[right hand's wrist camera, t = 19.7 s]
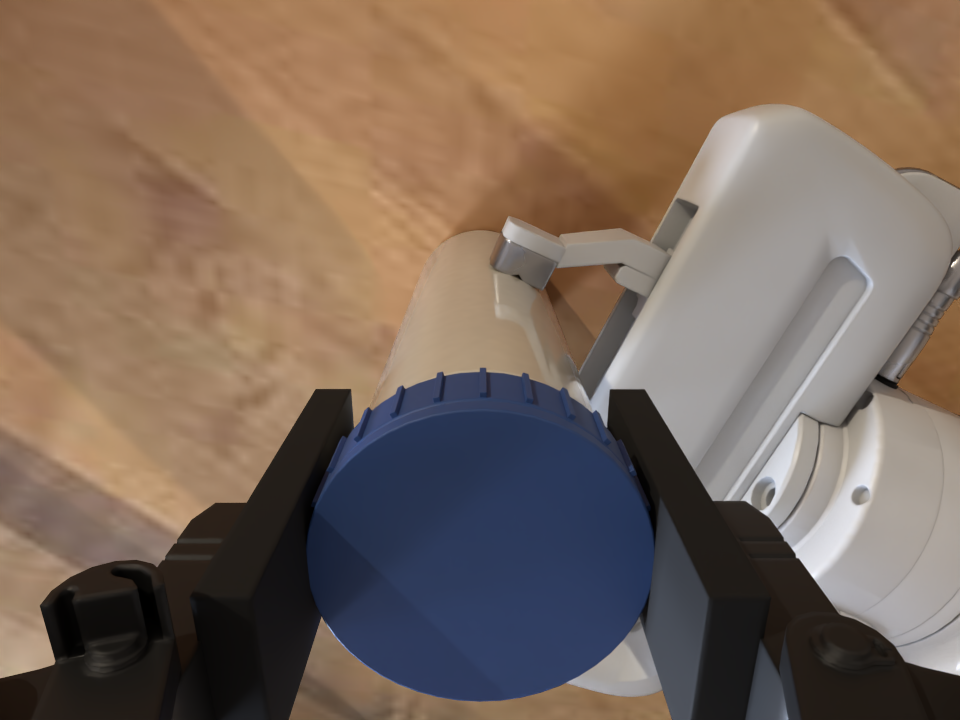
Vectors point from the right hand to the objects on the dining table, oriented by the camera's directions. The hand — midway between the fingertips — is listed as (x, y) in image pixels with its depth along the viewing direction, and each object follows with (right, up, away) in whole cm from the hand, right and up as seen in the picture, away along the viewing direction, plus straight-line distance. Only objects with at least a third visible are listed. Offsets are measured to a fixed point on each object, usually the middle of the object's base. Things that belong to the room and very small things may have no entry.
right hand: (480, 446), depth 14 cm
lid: (0, -1, -4) cm, 4 cm away
